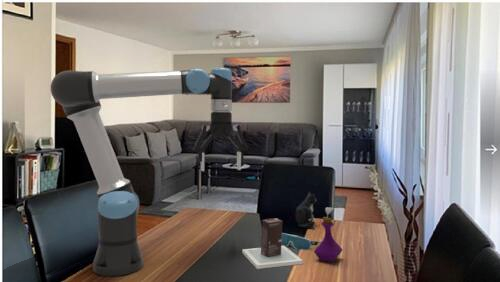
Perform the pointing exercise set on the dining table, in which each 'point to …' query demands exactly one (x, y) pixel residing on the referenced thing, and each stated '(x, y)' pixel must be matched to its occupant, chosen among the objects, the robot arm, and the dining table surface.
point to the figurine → (306, 212)
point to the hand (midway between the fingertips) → (220, 170)
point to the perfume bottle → (328, 242)
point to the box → (271, 237)
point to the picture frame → (271, 258)
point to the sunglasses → (297, 241)
